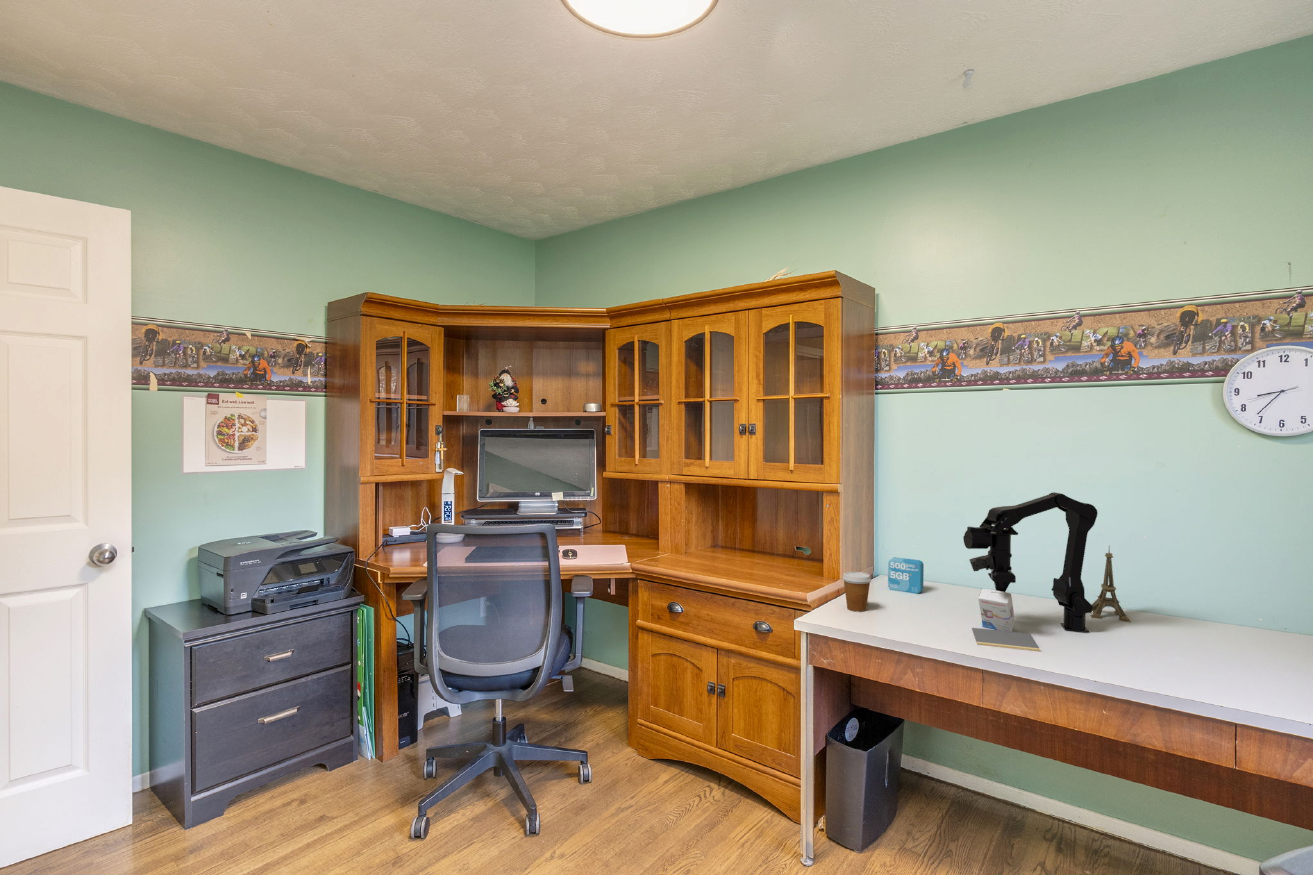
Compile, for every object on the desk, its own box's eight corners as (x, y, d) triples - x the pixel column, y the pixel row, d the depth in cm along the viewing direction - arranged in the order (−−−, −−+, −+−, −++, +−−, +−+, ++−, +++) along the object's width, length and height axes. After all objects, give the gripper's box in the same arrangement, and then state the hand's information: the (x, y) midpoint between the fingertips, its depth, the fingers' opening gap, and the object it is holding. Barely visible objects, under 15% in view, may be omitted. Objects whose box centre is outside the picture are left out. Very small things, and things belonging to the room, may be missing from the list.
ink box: (981, 627, 203) (977, 597, 198) (985, 617, 206) (981, 587, 202) (1011, 633, 197) (1008, 602, 193) (1015, 622, 200) (1011, 592, 196)
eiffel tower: (1086, 609, 222) (1087, 537, 221) (1123, 613, 217) (1125, 539, 216) (1091, 618, 212) (1093, 542, 212) (1130, 622, 208) (1132, 545, 207)
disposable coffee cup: (851, 614, 216) (851, 578, 216) (837, 606, 226) (837, 572, 225) (876, 612, 219) (877, 577, 218) (861, 604, 228) (861, 570, 227)
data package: (887, 589, 248) (888, 558, 248) (891, 587, 252) (891, 556, 251) (920, 594, 241) (920, 562, 241) (923, 591, 245) (923, 560, 244)
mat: (971, 628, 201) (971, 627, 201) (1030, 634, 195) (1030, 633, 195) (977, 644, 187) (977, 642, 187) (1040, 651, 181) (1040, 649, 181)
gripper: (968, 541, 212) (968, 588, 212) (974, 552, 194) (973, 603, 195) (1006, 544, 208) (1006, 592, 208) (1016, 555, 190) (1015, 607, 191)
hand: (999, 598), depth 201 cm, fingers closed
